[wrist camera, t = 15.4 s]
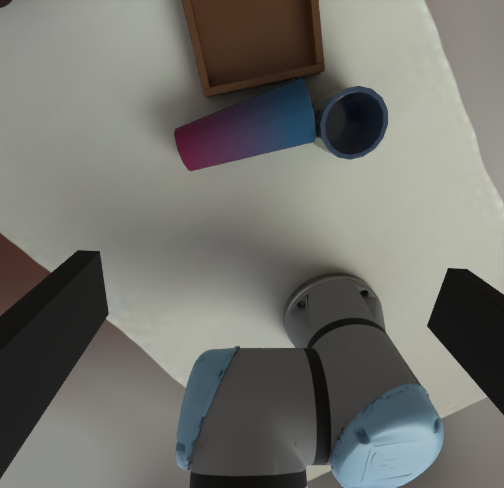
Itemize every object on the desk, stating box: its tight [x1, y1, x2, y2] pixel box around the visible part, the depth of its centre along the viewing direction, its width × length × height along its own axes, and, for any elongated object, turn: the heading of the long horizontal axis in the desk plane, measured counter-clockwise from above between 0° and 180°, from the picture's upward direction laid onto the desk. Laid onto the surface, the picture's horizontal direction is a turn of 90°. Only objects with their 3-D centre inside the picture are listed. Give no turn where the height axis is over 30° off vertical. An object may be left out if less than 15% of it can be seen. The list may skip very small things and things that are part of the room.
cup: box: [174, 78, 316, 171], centre depth 35 cm, size 7×7×15 cm
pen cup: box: [312, 86, 388, 159], centre depth 35 cm, size 7×7×7 cm
